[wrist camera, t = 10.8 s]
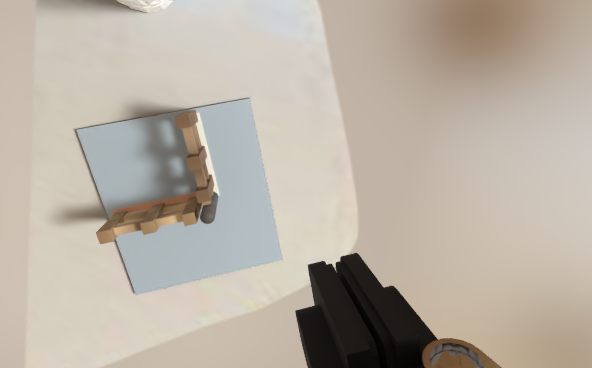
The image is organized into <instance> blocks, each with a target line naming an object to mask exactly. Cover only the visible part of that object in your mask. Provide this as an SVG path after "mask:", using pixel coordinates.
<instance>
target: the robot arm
mask: <svg viewBox="0 0 592 368" xmlns="http://www.w3.org/2000/svg"><path fill="white" fill-rule="evenodd" d="M308 270H309V276H310V281H311V287H312V293H313V298H314V303H315V306H312V307H308V308H304V309H300V310H296V317H297V322H298V327H299V332H300V337H301V341H302V346H303V350H304V354H305V358H306V362H307V366H308V368H501V367H500V366H499V365H498V364H497V363H495V362H494V361H493V360H492V359H491V358H489V357H488V356H487V355H486V354H485V353H483V352H482V351H481V350H480V349H478V348H477V347H475V346H474V345H472V344H470V343H468V342H465V341H462V340H458V339H453V338H446V339H445V338H443V339H439V340H438V339H437V338H436V337H435V335H434V334H433V333H432V332H431V331H430V329H429V328H428V327H427V326H426V325H425V323H424V322H423V321H422V320H421V318H420V317H419V316H418V315H417V314H416V312H415V311H414V310H413V309H412V307H411V306H410V305H409V304H408V302H407V301H406V300H405V299H404V297H403V296H402V295H401V294H400V293H399V291H398V290H397V289H396V288H395V287H394V286H389V287H385V288H383V287H382V285H381V284H380V282H379V281H378V280H377V278H376V277H375V276H374V274H373V273H372V272H371V270H370V269H369V268H368V266H367V265H366V264H365V263H364V261H363V260H362V258H361V257H360V256H359V254H357V253H354V254H351V255H346V256H342V257H341V258H340V262H336V271H337V272H336V271H335V269H334V267H333V265H332V264H328V265H326V263H325V261H321V262H317V263H313V264H309V265H308Z"/></svg>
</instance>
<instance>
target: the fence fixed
mask: <svg viewBox="0 0 592 368" xmlns="http://www.w3.org/2000/svg"><path fill="white" fill-rule="evenodd" d="M174 117H175V120H176V124H177V128H178V129H182V131H183V134H184V138H185V142H186V146H187V149H188V153H189V155H188V156H187V158H186V161H187V164H188V168H189V171H191V170H193V172H194V175H195V179H196V183H197V188H196V190H195V194H196V197H197V201H198V203H202V205H203V207H202V211H201V214H200V220H201V221H202V222H203V223H205V224H210V223H212V222H213V221H214V220H215V214H216V208H217V202H218V194H217V193H216V192H214V191H213V188H214V181H213V177H212V175H209V173H208V169H207V165H206V161H205V160H206V158H207V153H206V150H205V146H201V142H200V138H199V134H198V130H197V126H196V123H197V122H198V118H197V114H196V110H194V111H188V112H184V113H181V114H179V115H176V116H174Z"/></svg>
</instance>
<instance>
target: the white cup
mask: <svg viewBox="0 0 592 368" xmlns="http://www.w3.org/2000/svg"><path fill="white" fill-rule="evenodd" d="M116 1H118V2H120V3H122V4H124V5H127V6H129V7H130V8H132V9H134V10H139V11H143V12H147V13H151V12H156V11H160V10H164V9H165V8H166V7H168V6H169V5H170V4H171V3H172V2H173V1H174V0H116Z"/></svg>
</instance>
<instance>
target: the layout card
mask: <svg viewBox="0 0 592 368" xmlns="http://www.w3.org/2000/svg"><path fill="white" fill-rule="evenodd" d="M194 110H196V114H197V118H198V122H197V123H196V126H197V130H198V134H199V138H200V142H201V146H205V150H206V153H207V158H206V160H205V161H206V165H207V169H208V173H209V175H212V177H213V181H214V188H213V191H214V192H216V193H217V194H218V202H217V208H216V214H215V220H214V221H213V222H212V223H210V224H205V223H203V222H202V221H201V220H200V215H199V219H198V222H197V224H193V225H188V226H184V222H178V223H174V224H169V225H164V226H160V227H159V228H158V230H157V232H155V233H151V234H146V235H143V232H142V230H140V231H136V232H131V233H126V234H121V235H118V236H117V237H116V241H117V244H118V247H119V250H120V252H121V255H122V258H123V261H124V263H125V266H126V269H127V272H128V275H129V277H130V280H131V283H132V286H133V288H134V291H135V294H136V295H139V294H143V293H147V292H151V291H155V290H160V289H164V288H168V287H172V286H176V285H180V284H185V283H189V282H193V281H197V280H201V279H205V278H209V277H214V276H218V275H222V274H226V273H230V272H234V271H238V270H243V269H247V268H251V267H255V266H259V265H263V264H268V263H272V262H276V261H280V260H283V258H282V254H281V249H280V244H279V239H278V234H277V229H276V224H275V219H274V214H273V209H272V205H271V200H270V195H269V190H268V185H267V180H266V175H265V170H264V165H263V160H262V156H261V151H260V146H259V141H258V136H257V131H256V126H255V121H254V116H253V111H252V107H251V102H250V98H248V99H243V100H237V101H232V102H226V103H221V104H215V105H210V106H204V107H199V108H193V109H188V110H182V111H177V112H171V113H166V114H160V115H155V116H149V117H144V118H138V119H133V120H127V121H121V122H116V123H110V124H105V125H99V126H94V127H88V128H83V129H77V133H78V136H79V139H80V141H81V144H82V147H83V150H84V153H85V155H86V158H87V161H88V164H89V166H90V169H91V172H92V175H93V177H94V180H95V183H96V186H97V189H98V191H99V194H100V197H101V200H102V202H103V205H104V208H105V211H106V214H107V216H108V219H110V218H111V217H112V216H113V215H114V214H115V213H117V212H122V211H126V210H127V211H128V213H130V212H135V211H140V210H145V209H150V208H152V206H153V205H156V204H161V203H165V205H170V204H175V203H180V202H184V201H188V199H189V198H190V197H195V196H196V194H195V190H196V188H197V183H196V179H195V175H194V172H193V170H191V171H189V168H188V164H187V161H186V158H187V156H188V155H189V153H188V149H187V146H186V142H185V138H184V134H183V131H182V129H178V128H177V124H176V120H175V117H174V116H176V115H179V114H181V113H184V112H188V111H194ZM202 207H203V205H202ZM201 211H202V208H201ZM200 214H201V212H200Z"/></svg>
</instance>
